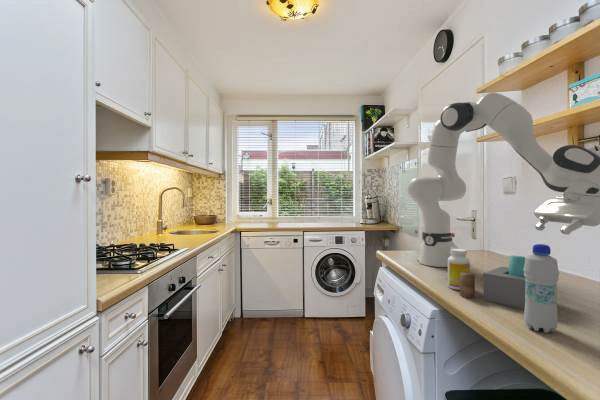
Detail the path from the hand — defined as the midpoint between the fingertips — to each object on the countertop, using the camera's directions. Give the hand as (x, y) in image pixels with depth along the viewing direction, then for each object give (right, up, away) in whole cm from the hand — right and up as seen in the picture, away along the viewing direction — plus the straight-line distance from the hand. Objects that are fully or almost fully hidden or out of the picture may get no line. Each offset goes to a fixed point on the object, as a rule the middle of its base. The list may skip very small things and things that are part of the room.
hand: (550, 230), depth 96 cm
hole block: (-10, -21, 0) cm, 23 cm away
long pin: (-10, -21, 0) cm, 23 cm away
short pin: (-22, -21, +5) cm, 31 cm away
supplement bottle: (-21, -21, +13) cm, 32 cm away
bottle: (-17, -21, -19) cm, 34 cm away
